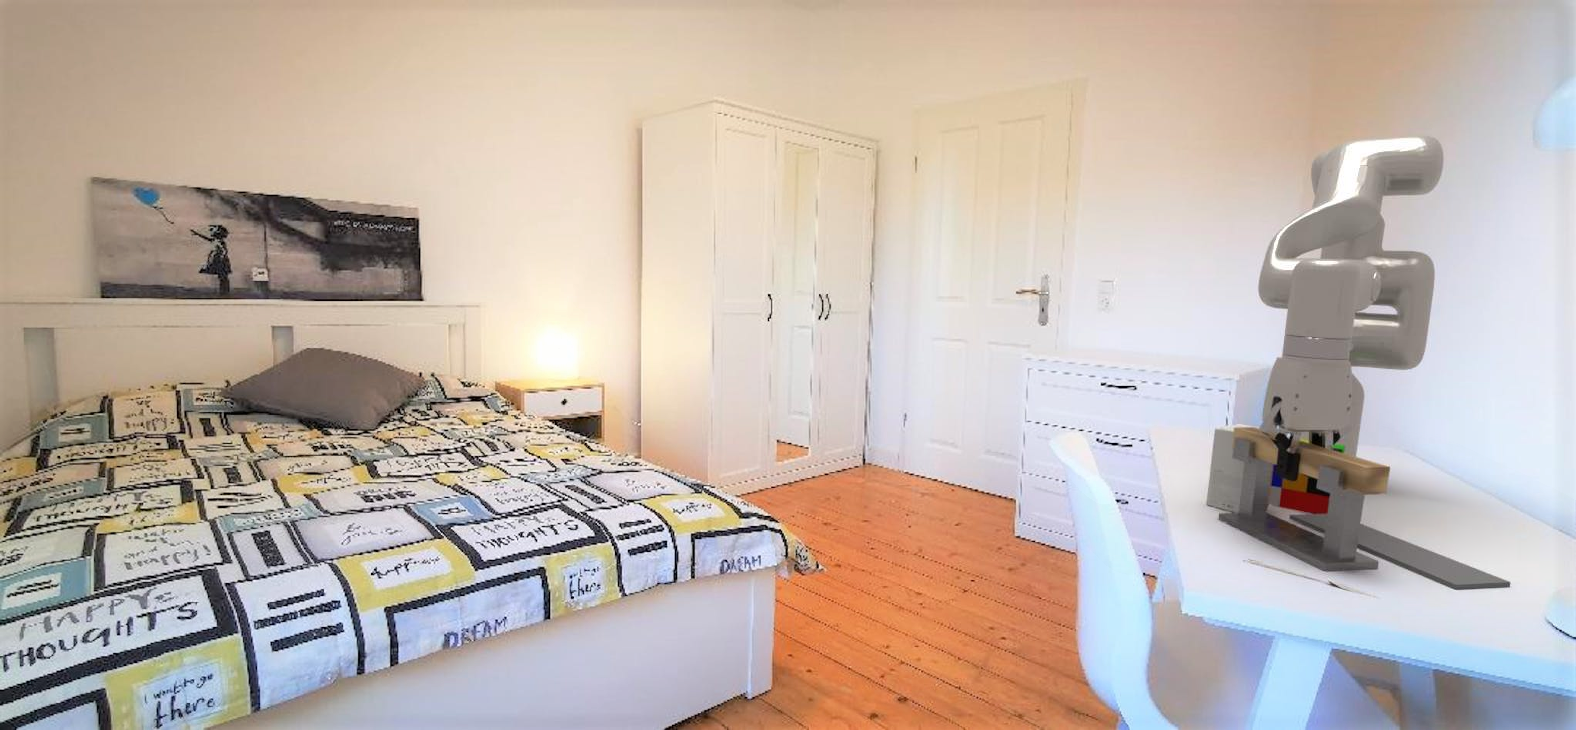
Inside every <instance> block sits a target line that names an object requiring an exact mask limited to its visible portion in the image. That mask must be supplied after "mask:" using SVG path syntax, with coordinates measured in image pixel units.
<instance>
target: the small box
mask: <svg viewBox="0 0 1576 730" xmlns="http://www.w3.org/2000/svg"><path fill="white" fill-rule="evenodd" d="M1237 427H1255V428H1258V429H1259V428H1260V426H1254V425H1248V424H1243V423H1237V424H1232V425H1225V426H1222V427H1218V428H1217V427H1216V428H1215V429H1214V435H1213V442H1212V444H1213V445H1212V453H1211V460H1210V470H1209V478H1208V479H1209V480H1208V487H1207V495H1206V502H1205V503H1206V505H1207V506H1211V507H1214V508H1218V509H1222V510H1224V511H1228V512H1231V513H1239V505H1240V497H1241V488H1242V480H1243V471H1244V463H1245V462H1242V461H1239V460H1237V459H1234V458H1232V457H1233V450H1232V442H1233V434H1234V428H1237ZM1273 468H1274V464H1273V463H1272V471H1271V479H1270V487H1269V496H1268V504H1267V509H1268V507H1269V506H1270V505H1269V498H1270V491H1271V483H1272V475H1273Z"/></svg>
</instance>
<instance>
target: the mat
mask: <svg viewBox="0 0 1576 730" xmlns="http://www.w3.org/2000/svg"><path fill="white" fill-rule="evenodd" d="M1288 519H1290V520H1291V521H1292V520H1293V521H1294V522H1296V523H1299V524H1302V525H1304V526H1306V527H1308V528H1310V529H1313V530H1315V531H1318V532H1319V533H1322V534H1325V528H1326V521H1327V514H1311V513H1305V514H1289V518H1288ZM1357 549H1359V550H1362V551H1365V552H1367V553H1369V554H1372V555H1374V556H1376V557H1379V558H1381V559H1383V560H1386V561H1388V562H1391V563H1393V564H1395V565H1396V566H1400V567H1402V568H1404V569H1407V570H1409V571H1411V572H1414V573H1416V574H1419V575H1421V576H1423V577H1425V578H1427V579H1430V580H1433V581H1435V582H1438V583H1439V582H1440V583H1439V584H1442V585H1444V586H1447V587H1449V588H1451V589H1453V590H1468V589H1471V588H1472V589H1487V588H1488V589H1489V588H1505V587H1506V588H1507V587H1511V581H1508V580H1506V579H1504V578H1501V577H1498V576H1497V575H1494V574H1491V573H1488V572H1485V571H1483V570H1481V569H1479V568H1475V567H1473V566H1470V565H1468V564H1466V563H1463V562H1460V561H1457V560H1455V559H1453V558H1450V557H1447V556H1446V555H1445V556H1444V555H1442V554H1439V553H1436V552H1434V551H1432V550H1431V549H1430V550H1429V549H1427V548H1425V547H1422V546H1419V545H1417V544H1414V543H1412V542H1409V541H1406V540H1403V539H1401V538H1399V537H1396V536H1394V535H1391V534H1388V533H1385V532H1383V531H1380V530H1378V529H1375V528H1373V527H1370V526H1368V525H1366V524H1363V523H1360V530H1359V537H1358V544H1357Z"/></svg>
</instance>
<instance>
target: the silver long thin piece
mask: <svg viewBox="0 0 1576 730" xmlns="http://www.w3.org/2000/svg"><path fill="white" fill-rule="evenodd" d="M1245 558H1246V557H1245ZM1246 559H1248V560H1249V561H1248V560H1245V559H1242V560H1243V561H1242V562H1244V561H1248V562H1251V563H1250V564H1252V563H1254V564H1253V565H1255V564H1256V565H1257V566H1259V565H1261V566H1260V567H1263V566H1264V567H1263V568H1267V569H1271V568H1272V569H1271V570H1274V569H1275V571H1278V572H1282V573H1287V574H1291V575H1294V576H1297V577H1302V578H1305V579H1310V580H1313V581H1318V582H1323V583H1326V584H1330V585H1332V586H1335V587H1337V588H1341V589H1343V590H1345V591H1350V592H1352V593H1356V594H1360V595H1363V596H1369V597H1370V598H1371V597H1372V598H1376V599H1378V600H1379V599H1380V600H1381V598H1380V597H1378V596H1374V595H1373V594H1370V593H1367V592H1364V591H1361V590H1358V589H1355V588H1353V587H1350V586H1348V585H1345V584H1342V583H1340V582H1336V581H1334V580H1332V579H1329V578H1326V581H1324V580H1322V579H1321V580H1320V579H1318V578H1314V577H1311V576H1307V575H1305V574H1301V573H1297V572H1295V571H1292V570H1288V569H1286V568H1285V569H1284V568H1281V567H1279V566H1274V565H1272V564H1268V563H1266V562H1261V561H1260V560H1259V561H1257V560H1255V559H1249V558H1246ZM1253 561H1254V562H1253ZM1248 562H1247V563H1248Z"/></svg>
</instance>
